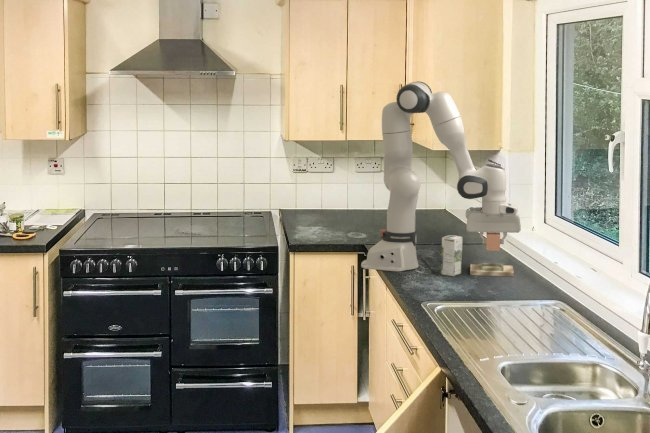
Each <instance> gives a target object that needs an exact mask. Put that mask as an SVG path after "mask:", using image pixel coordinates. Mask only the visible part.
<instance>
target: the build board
mask: <svg viewBox="0 0 650 433" xmlns="http://www.w3.org/2000/svg"><path fill="white" fill-rule="evenodd" d="M469 271H470V272H469V275H470V276H485V277H486V276H489V277H512V278H513V277H514V272H515V271H514V266H513V265H509V264H508V265H504V263H497V262H496V263H494V262H491V263H490V262H480V263H479V264H478V263H477V264H475V263H470V268H469Z"/></svg>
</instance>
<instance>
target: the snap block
mask: <svg viewBox="0 0 650 433" xmlns="http://www.w3.org/2000/svg"><path fill="white" fill-rule="evenodd" d="M485 239H486V244H485V246H486V247H485V248H486V249H485V250H486V251H493V252H495V251H496V252H497V251H498V252H499V251H501V244H500V239H501V232H486V238H485Z"/></svg>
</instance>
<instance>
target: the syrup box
mask: <svg viewBox="0 0 650 433" xmlns="http://www.w3.org/2000/svg"><path fill="white" fill-rule="evenodd" d="M463 238H464V237H463V236H460V235H455V234H449V235H445V236H442V237H441V253H440V254H441V255H440V256H441V258H440V274H441V275H442V276H443V275H444V276H449V277H455V276H458V275H461V274H462V265H463V264H462V262H463V261H462V260H463V259H462V258H463Z"/></svg>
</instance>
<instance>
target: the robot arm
mask: <svg viewBox="0 0 650 433" xmlns="http://www.w3.org/2000/svg"><path fill="white" fill-rule="evenodd" d="M381 112H382V113H381V136H382V144H383V145H382V146H383V154H384V155H383V182H384V185H385V187H386V189H387V190H388V191H389V200H388V206H387V210H386V229H382V230H381V233H380V234H381V238H380V239H381V240H379V241H378V242H377V243H376V244H375V245H373V246H371V247H370V249H368V252H367V255H366V259H364V260H363V261H361V264H360V267H361V268H362V269H365V270H376V271H386V272H387V271H388V272H390V271H391V272H403V271H410V270H415V269H418V268H419V267H420V264H419V261H418V258H417V257H418V256H417V249H416V246H417V231H416V211H417V210H416V209H417V204H418V199H419V193H420V192H419V191H420V190H421V180H420V177H419V175H418V174H417V173H416V172H415V171H413V169H412V160H413V159H412V158H413V153H414V148H413V147H414V146H413V138H412V136H413V135H412V126H411V117H412V115H413V114H423V113H425V114H426V115H427V116H428V117H429V120H430V122H431V126H432V128H433V132H434V133H435V135H436V137H437V139H438V141H440V143H441V144H442V145H443V146H445V148H447V149H448V150H449V153H450V154H451V156H452V158H453V159H452V160H453V161H454V163H455V166H456V168H457V172H458V182H457V185H456V190H457V192H458V194H459V196H460V197H462V198H463V199H467V200H475V199H478V198H481V206H479V207H469V208H467V209H466V210H465V218H466V219H467V220H466V227H465V228H466V230H465V231H467V232H468V233H479V236H480V237H481V240H482V245H483V244H484V245H486V238H485V237H484V233H487V232H500V233H502V235H503V237H502V238H500V245H504V244H505V243H504V242H505V239H506V237H507V235H508V233H509V234H510V233H515V234H516V233H520V232H521V230H522V228H521V224H522V223H521V218H520V215H519V213H518V212H519V211H518V207H517V205H515V204H511V203H508V202H507V199H506V190H507V175H506V171H505V168H503V167H502V166H501V165H497V164H492V163H490V164H489V163H486V164H484V166H481V167H480V168H478V169H477V168H476V167H475V165H474V162H473V160H472V157H471V154H470V152H469V149H468V147H467V142H466V132H465V127H464V122H463V119H462V116H461V114H460V111H459V109H458V107H457V104H456V102H455V101H454V99H453V97H452V96H451V94H450V93H448V92H446V91H438V92H434V93H433V91H432V88H431V87H430V86H429V85H428V84H427V83H426V82H423V81H411V82H409V83H407V84H405V85H403V86H402V87H401V88H400V89H399V90H398V92H397V95H396V101H393V102H390V103H388V104H386V105H384V106H383V108H382V111H381Z"/></svg>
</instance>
